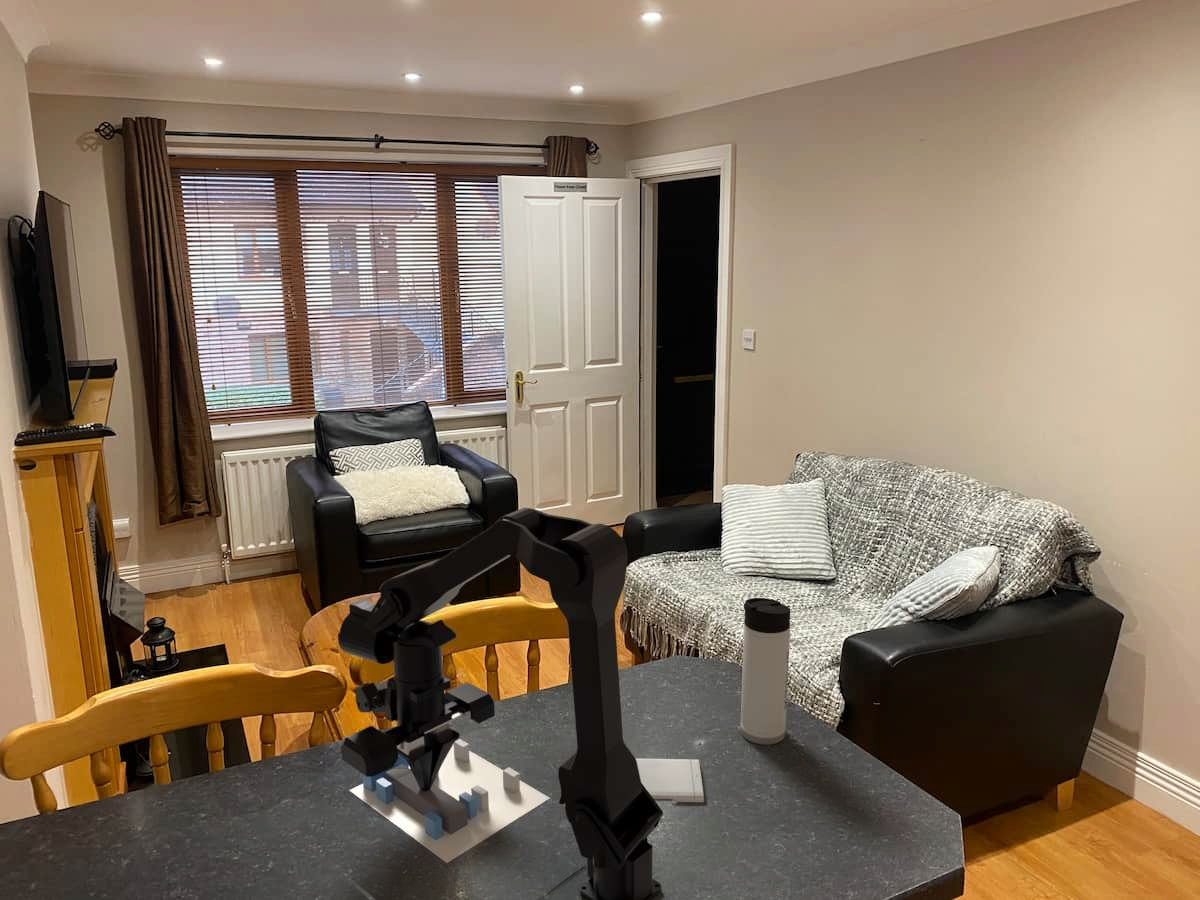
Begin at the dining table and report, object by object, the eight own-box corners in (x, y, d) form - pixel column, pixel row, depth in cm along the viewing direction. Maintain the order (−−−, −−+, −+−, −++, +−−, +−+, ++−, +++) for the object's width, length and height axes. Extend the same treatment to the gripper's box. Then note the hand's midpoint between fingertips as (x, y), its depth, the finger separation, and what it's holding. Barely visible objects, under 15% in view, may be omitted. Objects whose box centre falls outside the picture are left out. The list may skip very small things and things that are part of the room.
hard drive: (603, 793, 109) (704, 794, 109) (605, 756, 117) (699, 756, 117) (604, 805, 110) (703, 806, 109) (605, 767, 118) (698, 768, 117)
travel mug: (729, 728, 126) (733, 597, 121) (767, 718, 128) (773, 589, 124) (754, 750, 120) (760, 614, 116) (794, 739, 123) (800, 605, 118)
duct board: (550, 800, 109) (549, 775, 109) (447, 865, 98) (445, 837, 97) (450, 742, 123) (449, 718, 122) (349, 793, 111) (347, 767, 110)
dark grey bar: (467, 824, 104) (466, 806, 104) (450, 834, 103) (449, 816, 102) (403, 781, 113) (402, 764, 112) (386, 790, 111) (385, 772, 111)
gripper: (440, 627, 116) (445, 734, 119) (311, 677, 102) (321, 796, 106) (496, 653, 108) (499, 766, 112) (364, 710, 95) (373, 837, 98)
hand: (425, 789), depth 107 cm, fingers closed, pressing on dark grey bar
